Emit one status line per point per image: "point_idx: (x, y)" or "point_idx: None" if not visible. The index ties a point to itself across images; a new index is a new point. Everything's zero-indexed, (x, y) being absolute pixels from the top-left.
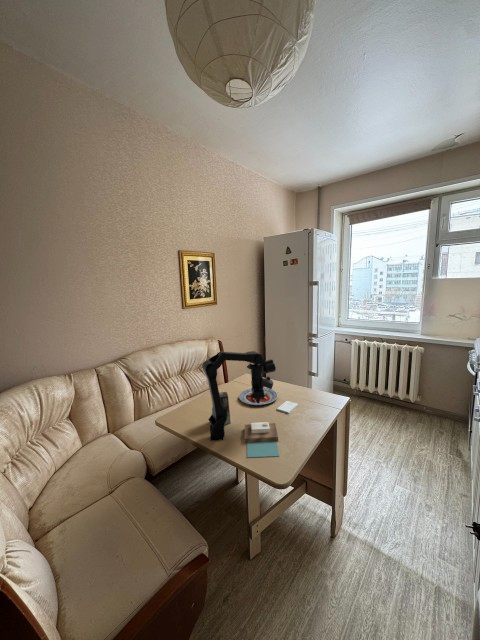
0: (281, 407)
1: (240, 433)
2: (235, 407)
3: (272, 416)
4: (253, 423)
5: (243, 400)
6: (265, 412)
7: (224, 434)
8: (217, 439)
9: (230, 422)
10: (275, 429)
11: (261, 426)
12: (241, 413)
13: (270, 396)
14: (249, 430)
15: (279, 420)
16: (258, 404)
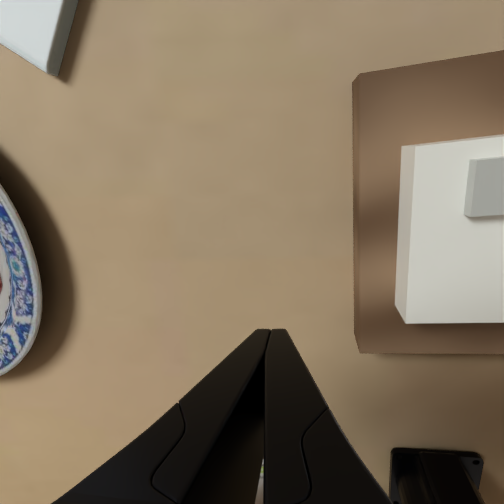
0: (10, 12)
1: (414, 360)
2: (89, 389)
3: (170, 116)
4: (421, 304)
5: (5, 357)
6: (115, 183)
7: (450, 461)
8: (478, 484)
9: None
10: (495, 63)
11: (501, 226)
12: (157, 355)
13: None
14: None
15: (235, 37)
16: (30, 249)
